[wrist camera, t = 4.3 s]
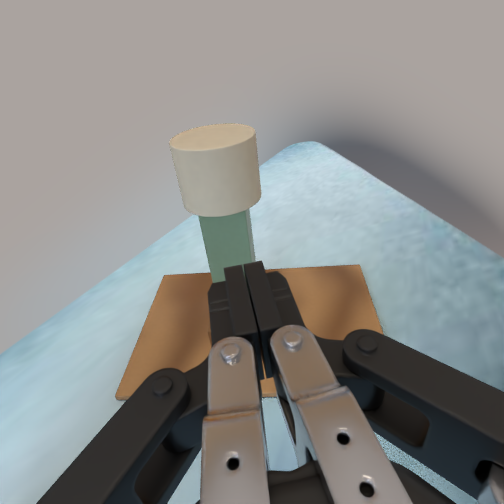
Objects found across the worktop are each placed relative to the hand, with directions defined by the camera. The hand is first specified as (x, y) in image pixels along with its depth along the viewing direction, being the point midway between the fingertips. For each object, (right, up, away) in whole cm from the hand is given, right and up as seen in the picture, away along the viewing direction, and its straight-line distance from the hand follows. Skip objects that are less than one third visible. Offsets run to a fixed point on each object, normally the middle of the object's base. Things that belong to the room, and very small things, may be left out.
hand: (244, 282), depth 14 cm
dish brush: (0, -5, +16) cm, 17 cm away
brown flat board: (+1, -5, +17) cm, 17 cm away
